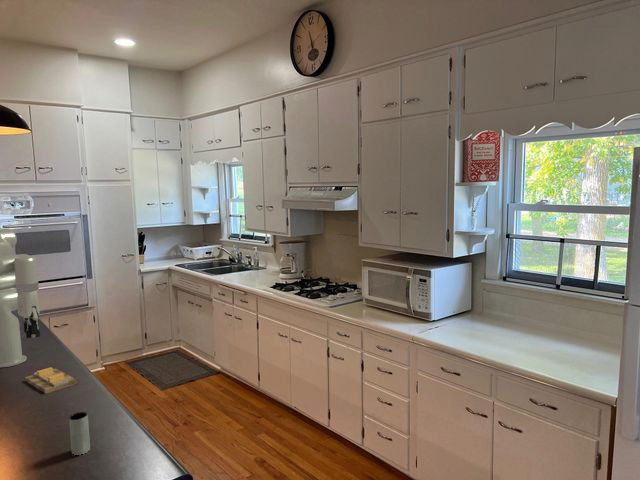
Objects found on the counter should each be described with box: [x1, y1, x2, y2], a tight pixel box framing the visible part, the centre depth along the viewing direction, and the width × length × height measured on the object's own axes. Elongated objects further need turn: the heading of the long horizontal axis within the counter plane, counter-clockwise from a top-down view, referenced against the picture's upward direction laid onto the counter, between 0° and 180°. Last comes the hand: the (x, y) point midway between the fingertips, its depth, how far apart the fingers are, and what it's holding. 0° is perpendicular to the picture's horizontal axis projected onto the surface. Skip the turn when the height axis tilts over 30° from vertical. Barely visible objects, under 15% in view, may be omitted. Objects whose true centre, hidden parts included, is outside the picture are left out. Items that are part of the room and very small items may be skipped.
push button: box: [20, 315, 41, 339], centre depth 186 cm, size 7×5×10 cm
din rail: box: [33, 371, 69, 387], centre depth 178 cm, size 19×5×1 cm, turn 51°
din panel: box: [24, 368, 78, 394], centre depth 178 cm, size 19×11×2 cm, turn 51°
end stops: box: [36, 367, 64, 382], centre depth 178 cm, size 12×5×2 cm, turn 51°
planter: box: [68, 411, 91, 456], centre depth 129 cm, size 4×4×10 cm
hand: (31, 332), depth 186 cm, fingers closed on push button, 3 cm apart
